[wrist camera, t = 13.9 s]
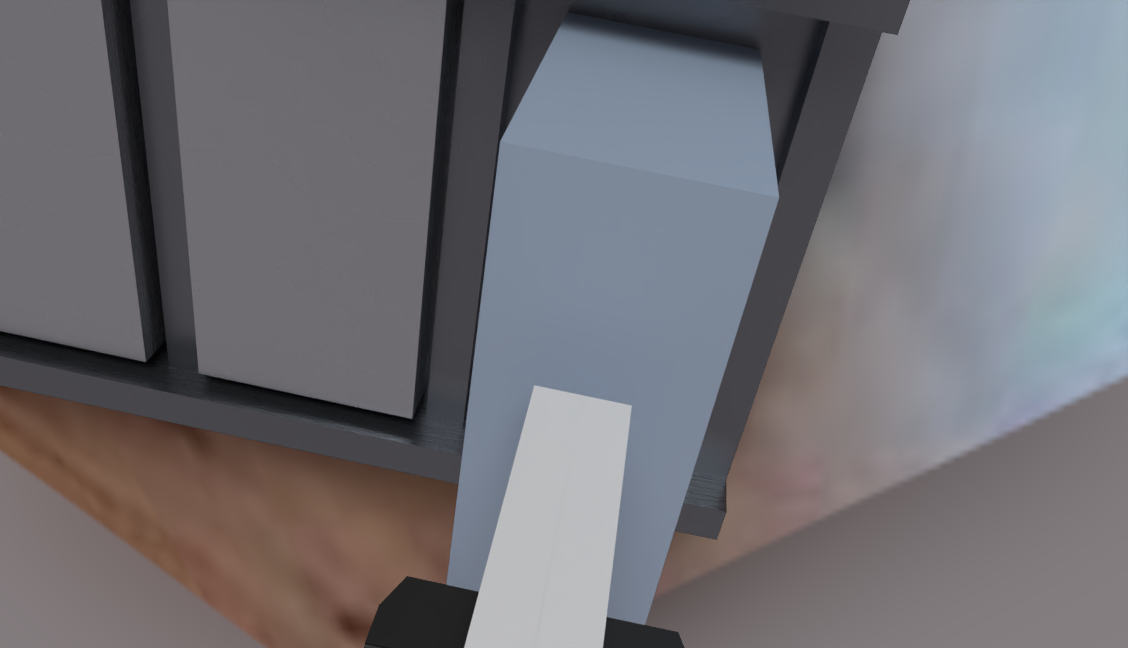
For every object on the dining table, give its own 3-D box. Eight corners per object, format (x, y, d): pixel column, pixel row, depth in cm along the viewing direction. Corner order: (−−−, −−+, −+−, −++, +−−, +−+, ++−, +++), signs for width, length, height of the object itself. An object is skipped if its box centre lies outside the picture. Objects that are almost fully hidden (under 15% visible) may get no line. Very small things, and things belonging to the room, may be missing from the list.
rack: (-32, 303, 27) (-123, 374, 24) (-173, -266, 19) (-334, -263, 16) (716, 462, 26) (715, 555, 23) (891, -58, 18) (923, -17, 15)
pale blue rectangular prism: (509, 392, 24) (444, 600, 19) (566, 11, 19) (499, 141, 13) (657, 422, 24) (639, 642, 19) (760, 49, 19) (779, 197, 13)
